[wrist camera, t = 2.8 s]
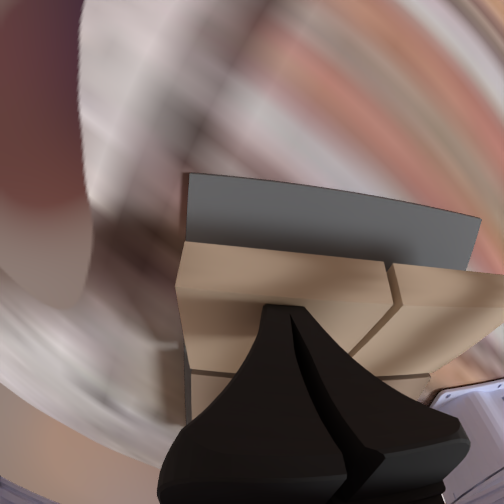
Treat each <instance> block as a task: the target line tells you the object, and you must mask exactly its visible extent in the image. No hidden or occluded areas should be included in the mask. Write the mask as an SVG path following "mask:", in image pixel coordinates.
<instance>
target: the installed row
mask: <svg viewBox="0 0 504 504" xmlns="http://www.w3.org/2000/svg"><path fill="white" fill-rule="evenodd" d="M235 374H236V373H227V372H216V371H207V370H198V369H192V372H191V404H192V420H193V419H195V418H196V417H197V416H198V415H199V414H200V413H202V412H203V411H204V410H205V409H206V408H207V407H208V406H209V405H210V404H211V403H212V402H213V400H214V399H215V398H216V397H217V396H218V395H219V394H220V393H221V392H222V391H223V390H224V388H225V387H226V386H227V385H228V383H229V382H230V381H231V379H232V378H233V377H234V375H235ZM376 377H377V378H379V379H380V380H381V381H383V382H385V383H386V384H388V385H389V386H391V387H392V388H394V389H396V390H397V391H399V392H401V393H402V394H404V395H406V396H408V397H410V398H412V399H414V400H416V401H417V400H418V398H419V396H420V395H421V393H422V391H423V390H424V388H425V386H426V385H427V383H428V381H429V380H430V378H431V376H430V374H429V373H422V374H409V375H393V376H376Z"/></svg>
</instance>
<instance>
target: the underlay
mask: <svg viewBox="0 0 504 504" xmlns="http://www.w3.org/2000/svg"><path fill="white" fill-rule="evenodd" d="M481 221H482V219H480V218H477V217H473V216H469V215H465V214H461V213H456V212H452V211H448V210H443V209H438V208H434V207H429V206H424V205H420V204H415V203H410V202H405V201H399V200H394V199H389V198H383V197H378V196H372V195H367V194H361V193H355V192H349V191H342V190H336V189H330V188H323V187H316V186H309V185H302V184H295V183H287V182H279V181H271V180H262V179H254V178H244V177H235V176H225V175H214V174H202V173H190V175H189V189H188V205H187V224H186V241H187V242H197V243H207V244H217V245H227V246H236V247H246V248H256V249H266V250H276V251H286V252H295V253H305V254H315V255H324V256H334V257H344V258H353V259H363V260H372V261H382V262H384V265H385V269H386V272H387V271H388V270H389V268H390V267H391V265H392V264H393V263H397V264H406V265H416V266H425V267H435V268H444V269H453V270H463V271H466V268H467V265H468V262H469V260H470V257H471V254H472V251H473V247H474V244H475V241H476V238H477V234H478V231H479V228H480V224H481ZM191 372H192V369H190V365H189V360H188V356H187V351H186V345H185V340H184V376H185V407H186V425H187V424H189V423H190V422H191V421H192V404H191Z"/></svg>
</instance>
